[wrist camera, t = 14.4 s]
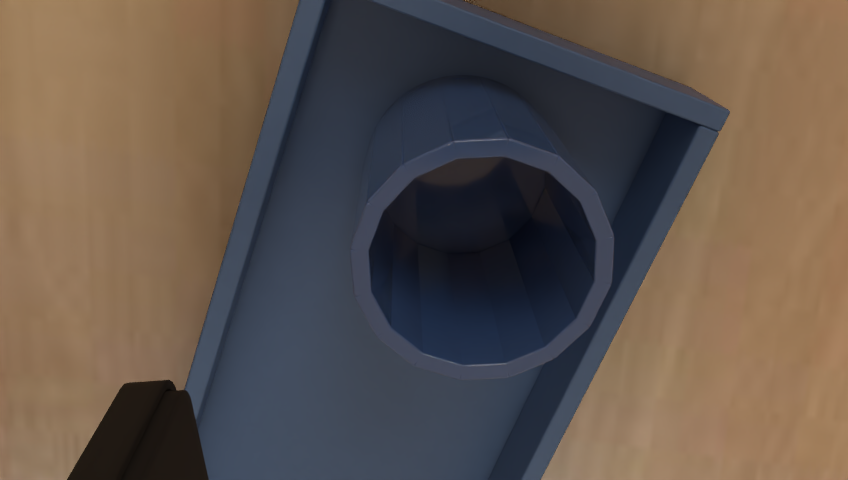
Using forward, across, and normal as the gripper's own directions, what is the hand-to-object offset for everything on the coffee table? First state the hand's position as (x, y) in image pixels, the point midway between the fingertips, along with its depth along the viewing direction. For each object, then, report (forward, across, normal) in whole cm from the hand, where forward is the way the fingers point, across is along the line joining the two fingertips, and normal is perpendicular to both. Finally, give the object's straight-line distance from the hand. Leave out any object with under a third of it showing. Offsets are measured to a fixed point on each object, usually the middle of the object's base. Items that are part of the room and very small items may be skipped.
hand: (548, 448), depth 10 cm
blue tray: (+14, +3, +7) cm, 16 cm away
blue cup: (+14, 0, +1) cm, 14 cm away
